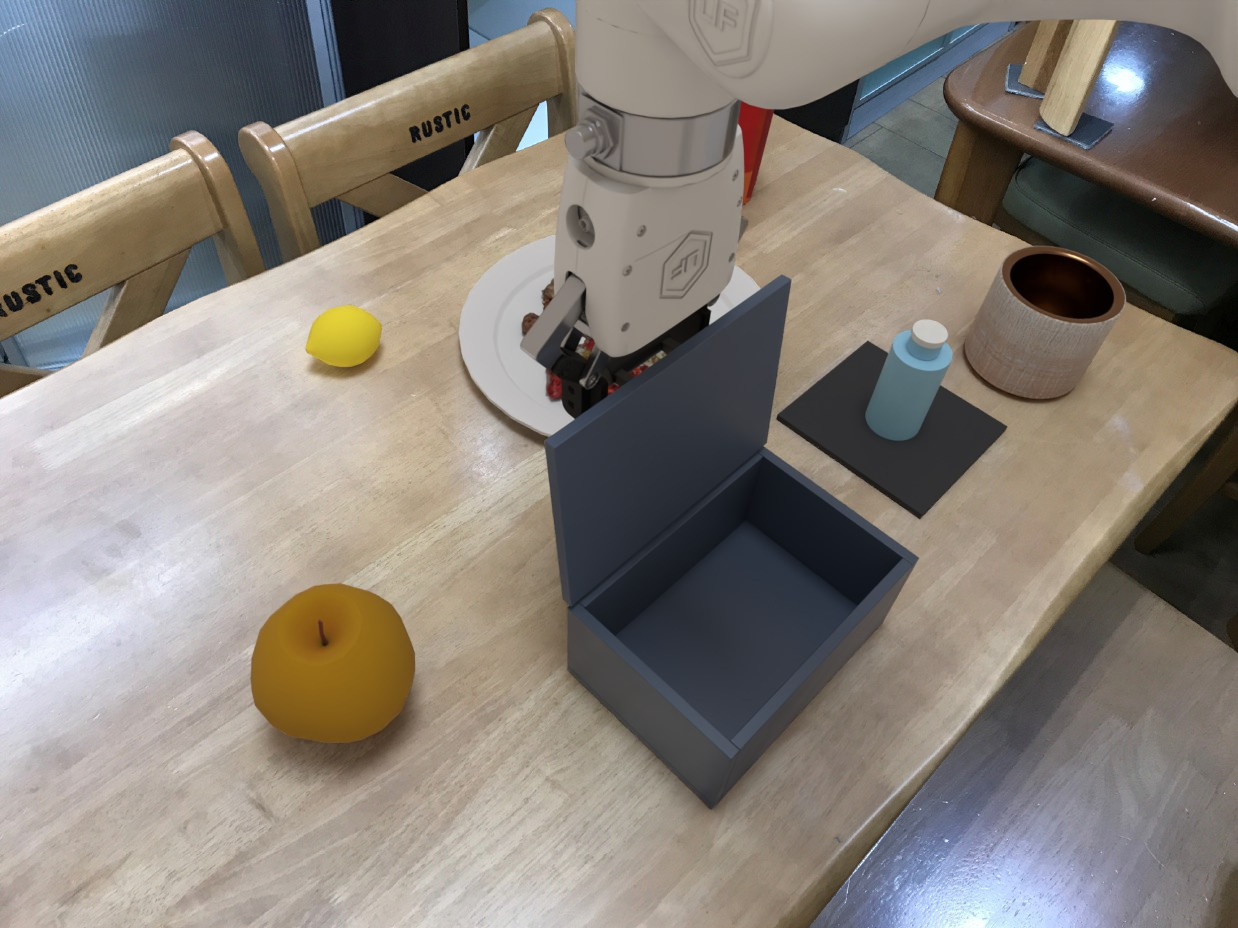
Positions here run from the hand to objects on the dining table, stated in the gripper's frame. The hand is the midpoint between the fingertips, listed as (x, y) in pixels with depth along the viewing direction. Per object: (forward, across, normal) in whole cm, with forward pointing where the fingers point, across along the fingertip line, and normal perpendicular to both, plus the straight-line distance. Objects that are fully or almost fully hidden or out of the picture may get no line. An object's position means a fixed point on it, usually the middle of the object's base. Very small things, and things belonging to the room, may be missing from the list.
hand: (634, 380), depth 54 cm
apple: (+19, -22, +4) cm, 29 cm away
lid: (+3, 0, -4) cm, 5 cm away
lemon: (+19, -3, +32) cm, 37 cm away
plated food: (+19, +17, +17) cm, 31 cm away
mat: (+19, +27, -7) cm, 34 cm away
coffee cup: (+19, +43, +26) cm, 54 cm away
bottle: (+18, +27, -7) cm, 33 cm away
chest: (+19, 0, -11) cm, 22 cm away
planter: (+19, +43, -11) cm, 48 cm away
